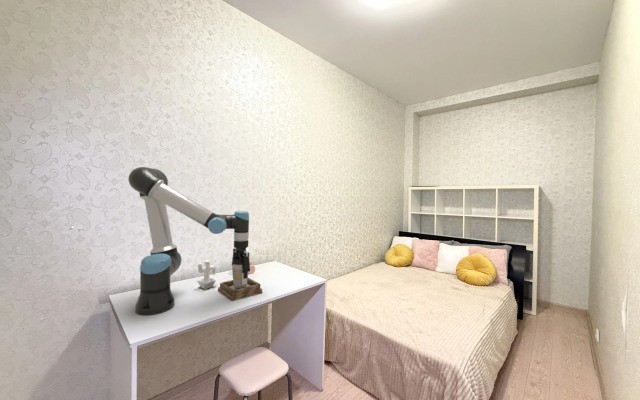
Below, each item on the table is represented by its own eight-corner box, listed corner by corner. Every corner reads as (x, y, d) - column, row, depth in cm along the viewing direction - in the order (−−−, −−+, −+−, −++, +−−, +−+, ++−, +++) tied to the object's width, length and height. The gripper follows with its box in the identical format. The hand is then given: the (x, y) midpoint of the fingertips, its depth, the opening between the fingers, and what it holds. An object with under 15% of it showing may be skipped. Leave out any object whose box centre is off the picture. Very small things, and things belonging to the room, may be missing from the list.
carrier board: (232, 301, 129) (232, 292, 129) (218, 291, 141) (218, 282, 141) (262, 292, 141) (262, 284, 141) (246, 284, 153) (246, 276, 153)
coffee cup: (252, 285, 142) (253, 257, 142) (239, 290, 135) (239, 261, 134) (240, 281, 147) (241, 255, 147) (227, 286, 140) (228, 258, 139)
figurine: (217, 286, 148) (218, 260, 148) (202, 291, 141) (202, 263, 140) (210, 283, 152) (211, 257, 152) (194, 287, 145) (195, 261, 144)
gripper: (257, 242, 135) (256, 285, 136) (238, 236, 151) (237, 275, 151) (244, 244, 130) (243, 289, 131) (225, 237, 145) (224, 278, 146)
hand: (240, 281), depth 141 cm, fingers closed on coffee cup, 9 cm apart
